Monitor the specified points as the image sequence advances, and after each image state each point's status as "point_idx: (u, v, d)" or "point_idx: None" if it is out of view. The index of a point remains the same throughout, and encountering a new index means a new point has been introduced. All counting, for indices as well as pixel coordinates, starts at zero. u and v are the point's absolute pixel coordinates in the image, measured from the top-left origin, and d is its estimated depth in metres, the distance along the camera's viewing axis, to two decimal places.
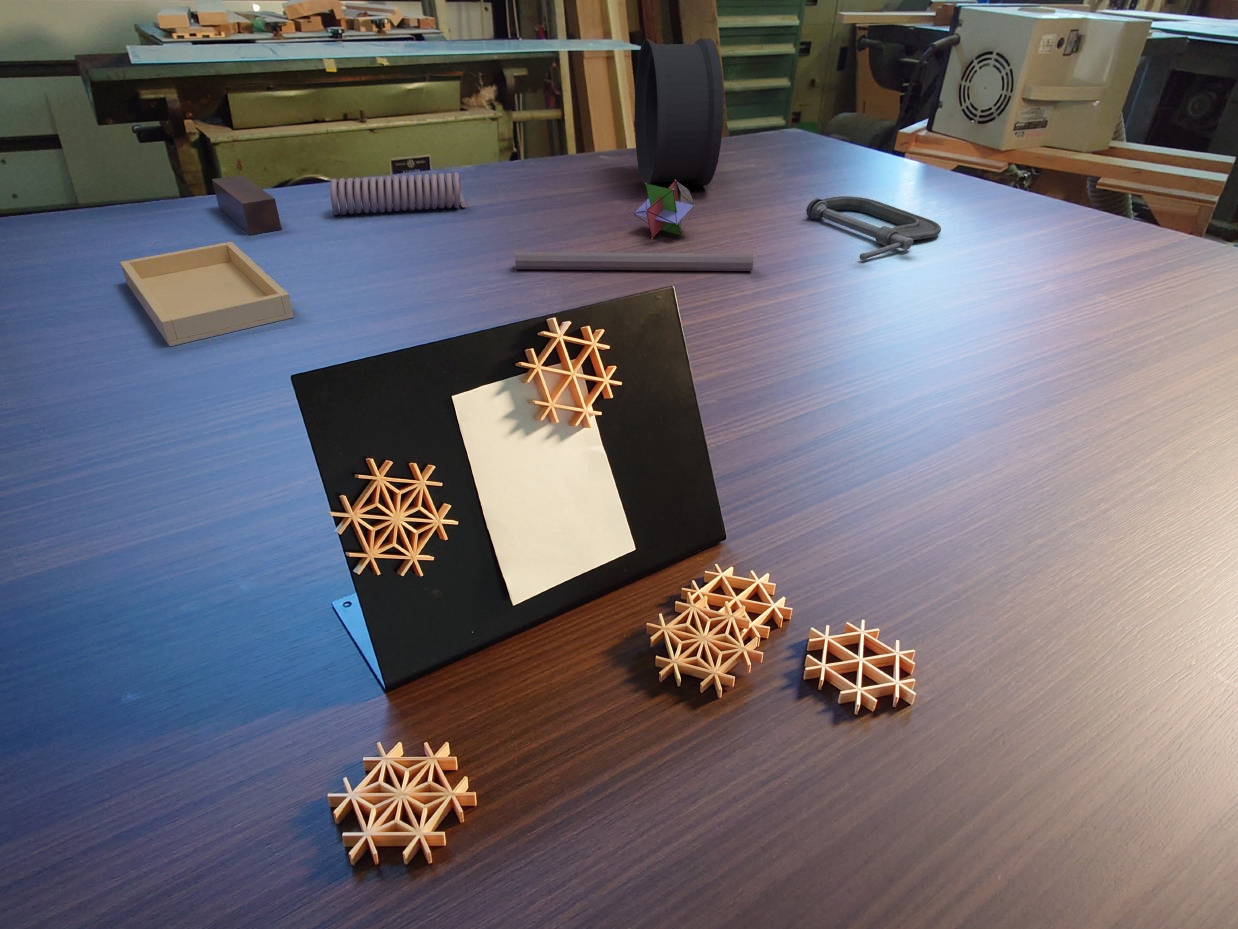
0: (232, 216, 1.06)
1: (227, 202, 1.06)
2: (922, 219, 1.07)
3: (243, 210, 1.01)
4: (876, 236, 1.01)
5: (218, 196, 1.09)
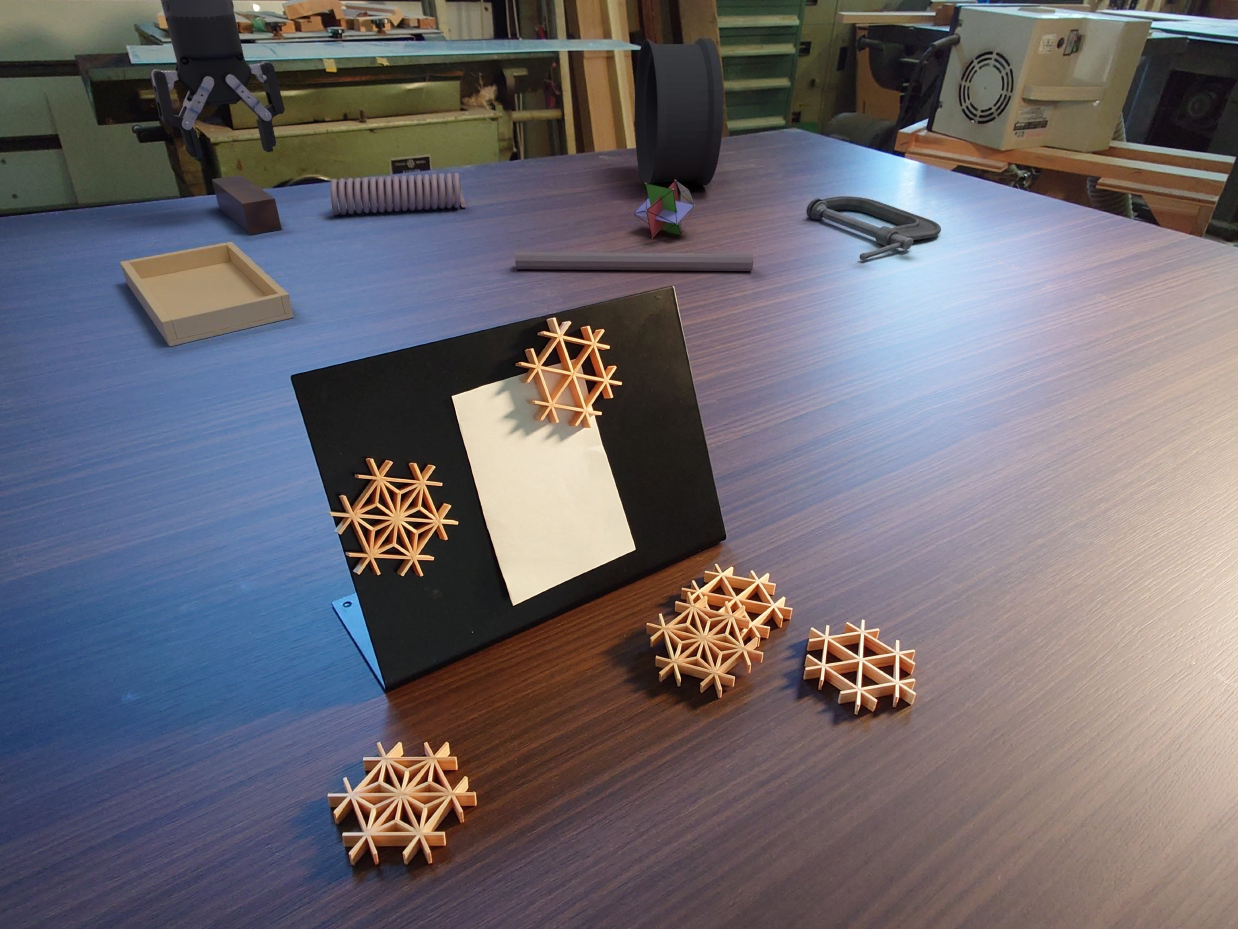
0: (232, 216, 1.06)
1: (227, 202, 1.06)
2: (922, 219, 1.07)
3: (243, 210, 1.01)
4: (876, 236, 1.01)
5: (218, 196, 1.09)
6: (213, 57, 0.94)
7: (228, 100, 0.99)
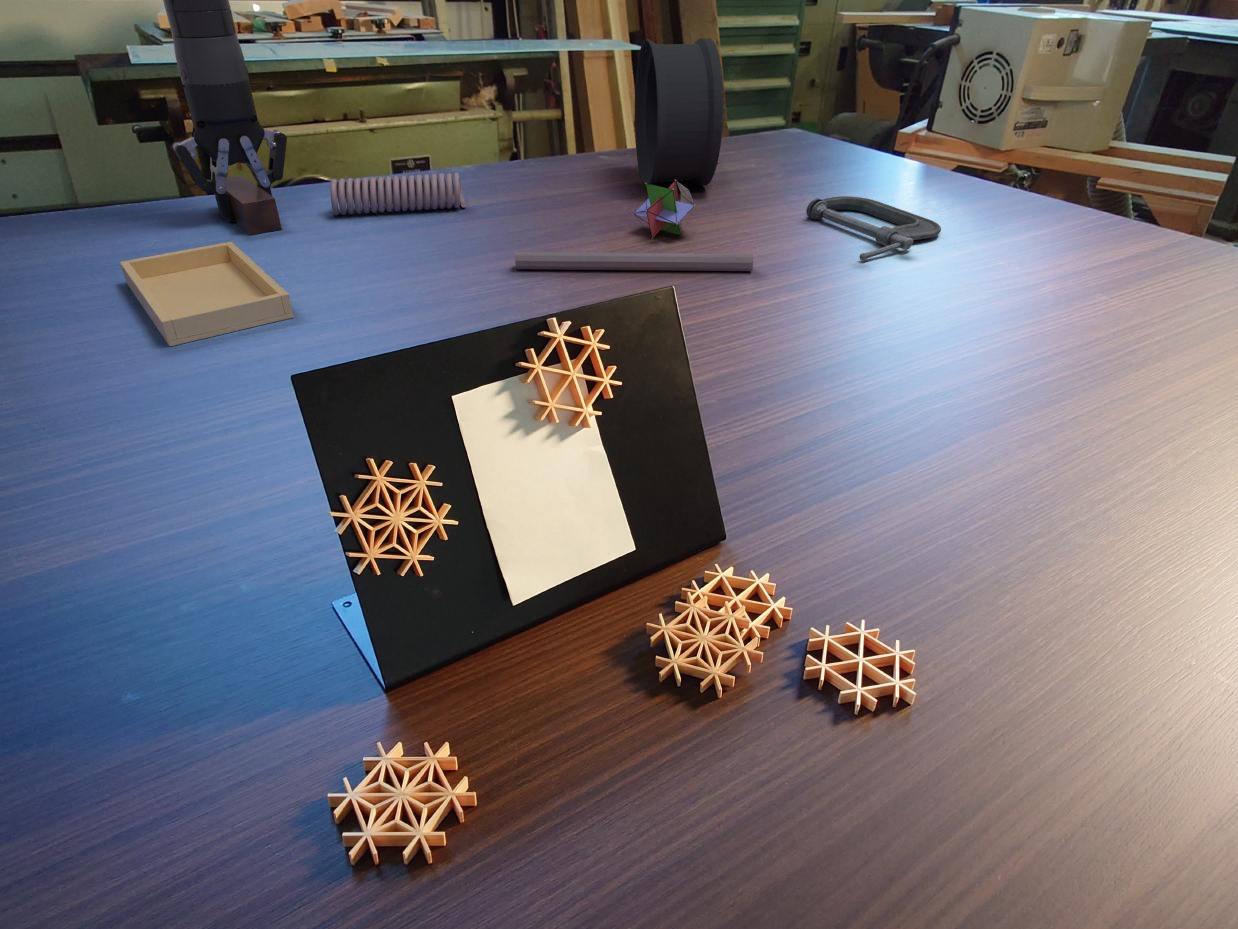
0: None
1: None
2: (922, 219, 1.07)
3: (243, 210, 1.01)
4: (876, 236, 1.01)
5: None
6: (228, 121, 0.98)
7: (242, 159, 1.03)
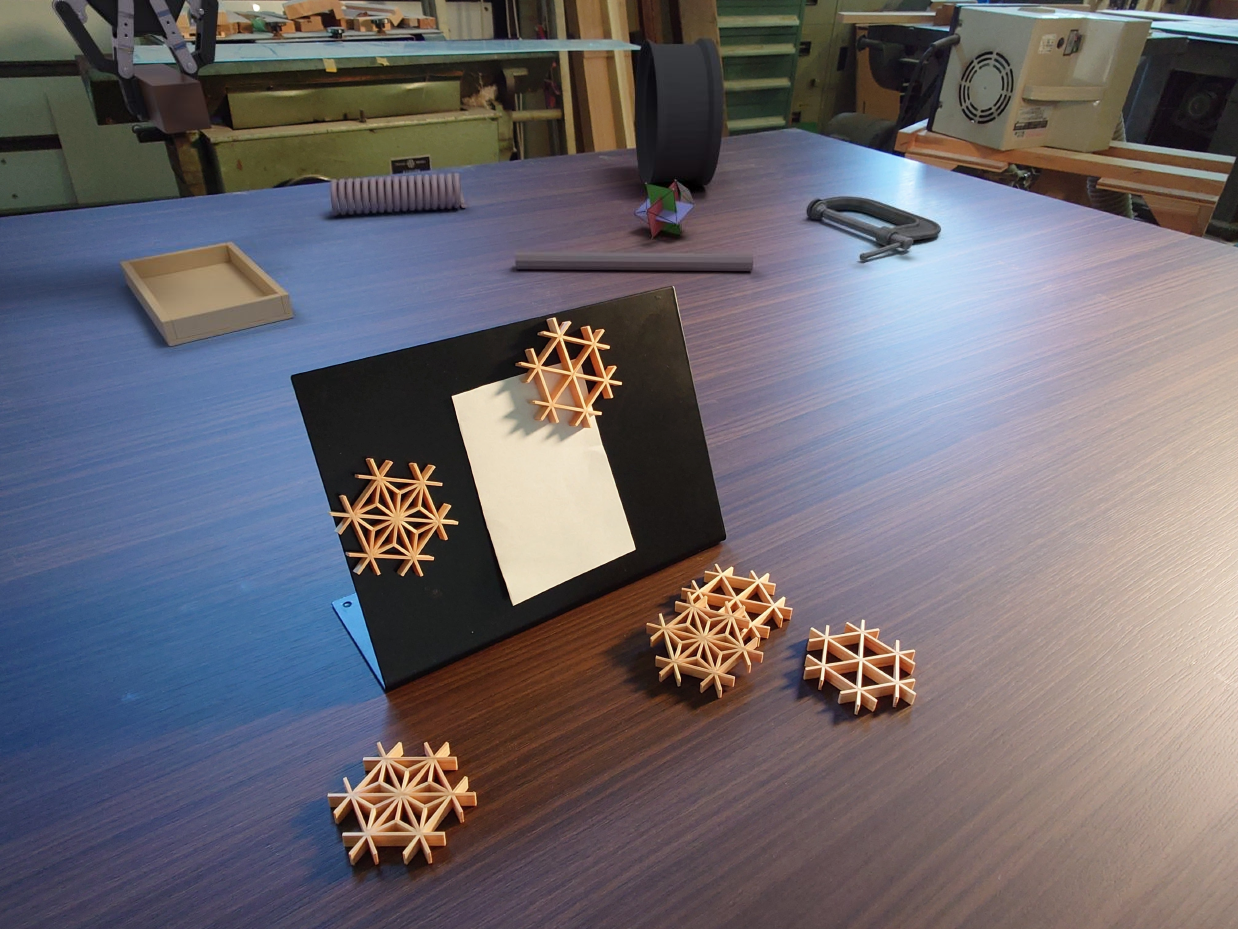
0: None
1: None
2: (922, 219, 1.07)
3: (154, 96, 0.72)
4: (876, 236, 1.01)
5: None
6: None
7: (155, 30, 0.74)
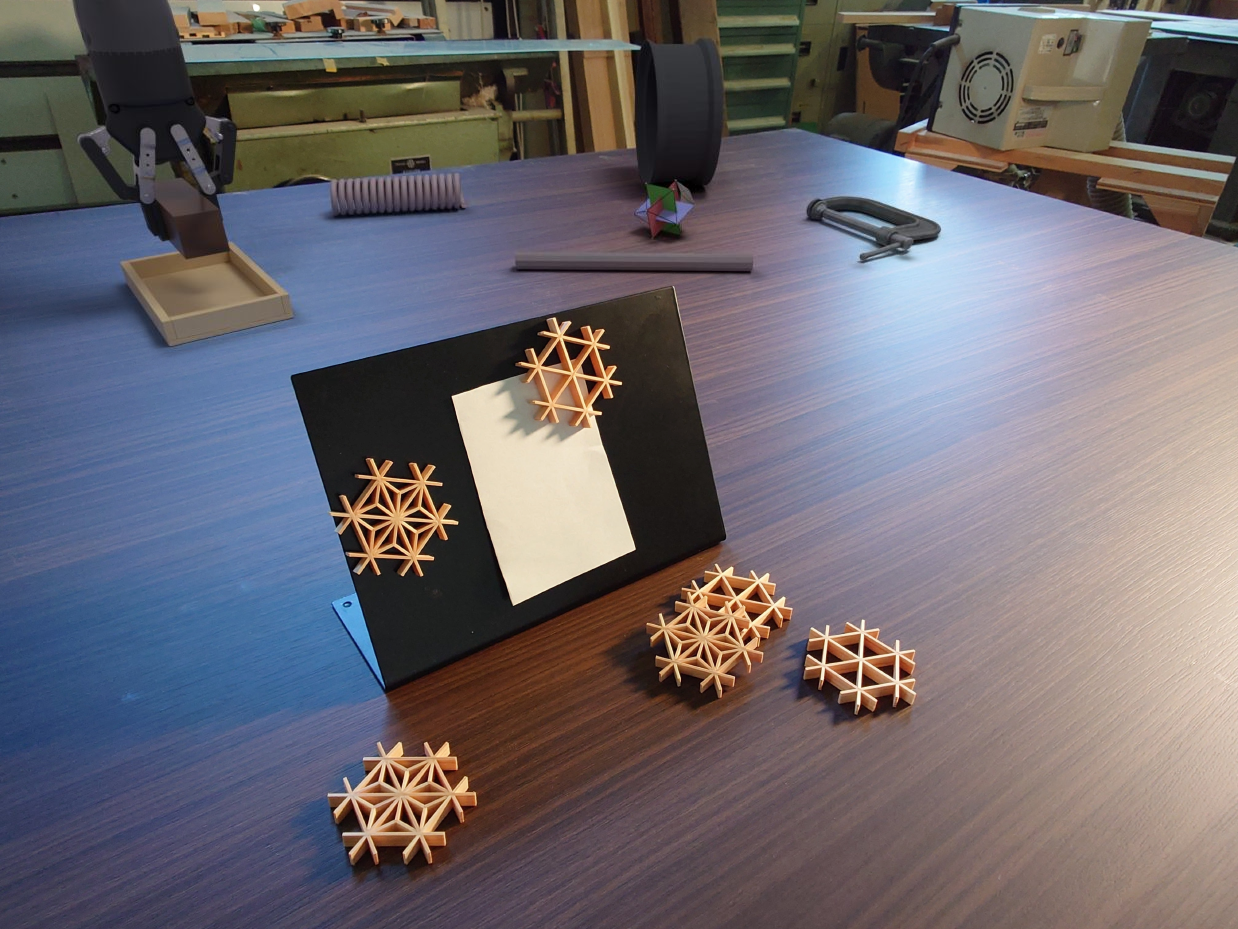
0: None
1: None
2: (922, 219, 1.07)
3: (175, 226, 0.74)
4: (876, 236, 1.01)
5: None
6: (152, 104, 0.71)
7: (175, 157, 0.76)
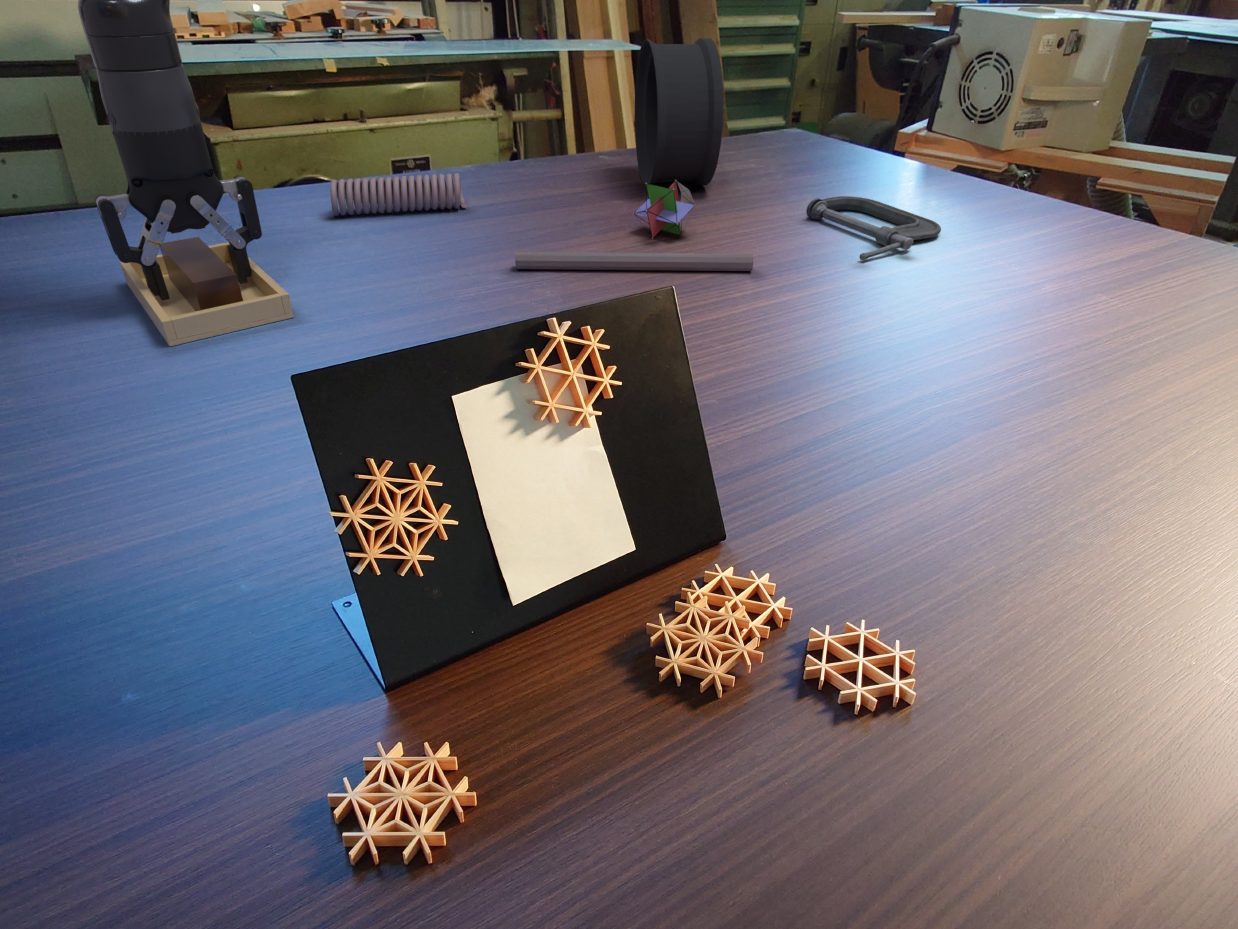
0: (183, 293, 0.83)
1: (177, 275, 0.83)
2: (922, 219, 1.07)
3: (194, 291, 0.77)
4: (876, 236, 1.01)
5: (167, 265, 0.86)
6: (173, 179, 0.75)
7: (194, 225, 0.80)
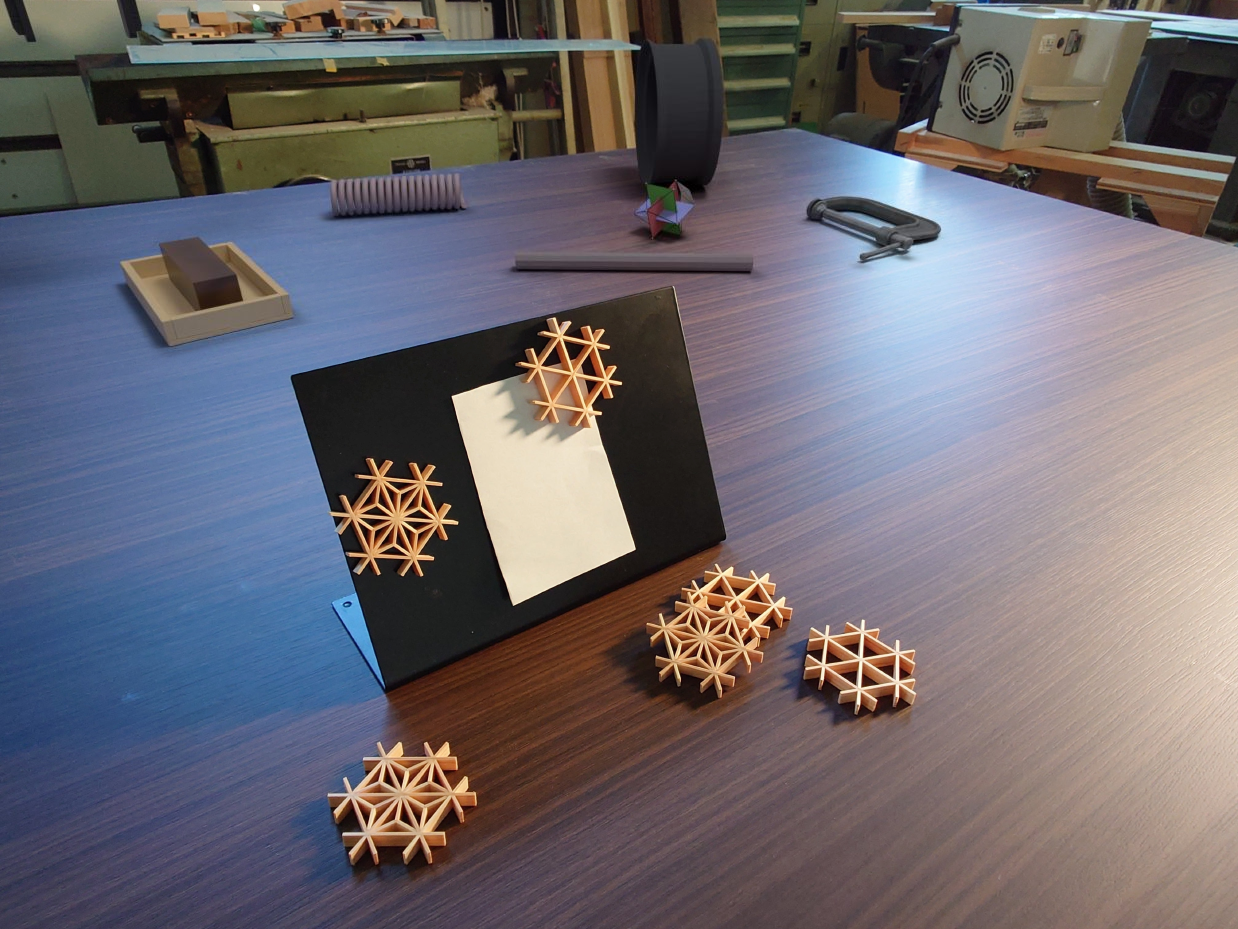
0: (183, 293, 0.83)
1: (177, 275, 0.83)
2: (922, 219, 1.07)
3: (194, 291, 0.77)
4: (876, 236, 1.01)
5: (167, 265, 0.86)
6: None
7: None
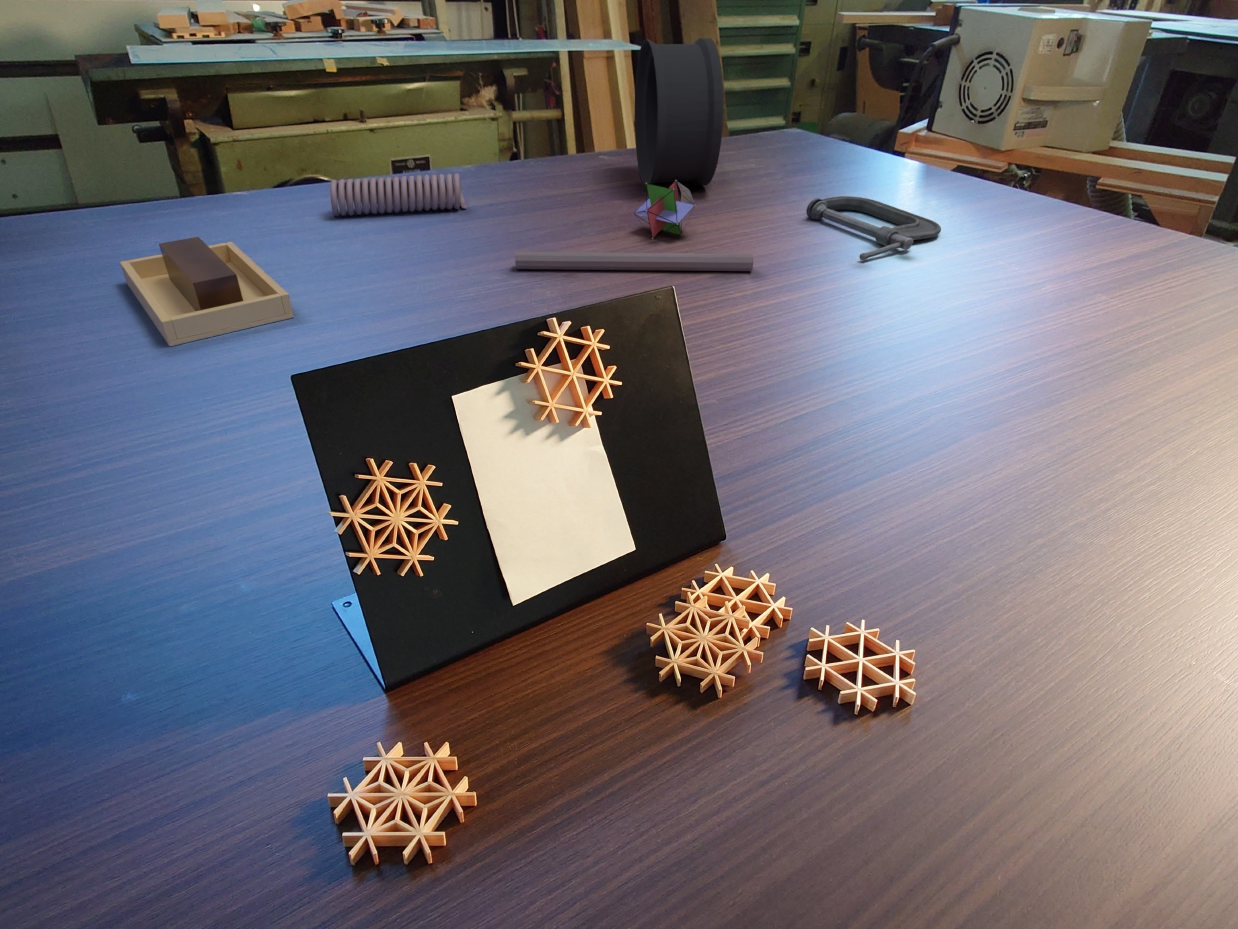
0: (183, 293, 0.83)
1: (177, 275, 0.83)
2: (922, 219, 1.07)
3: (194, 291, 0.77)
4: (876, 236, 1.01)
5: (167, 265, 0.86)
6: None
7: None
